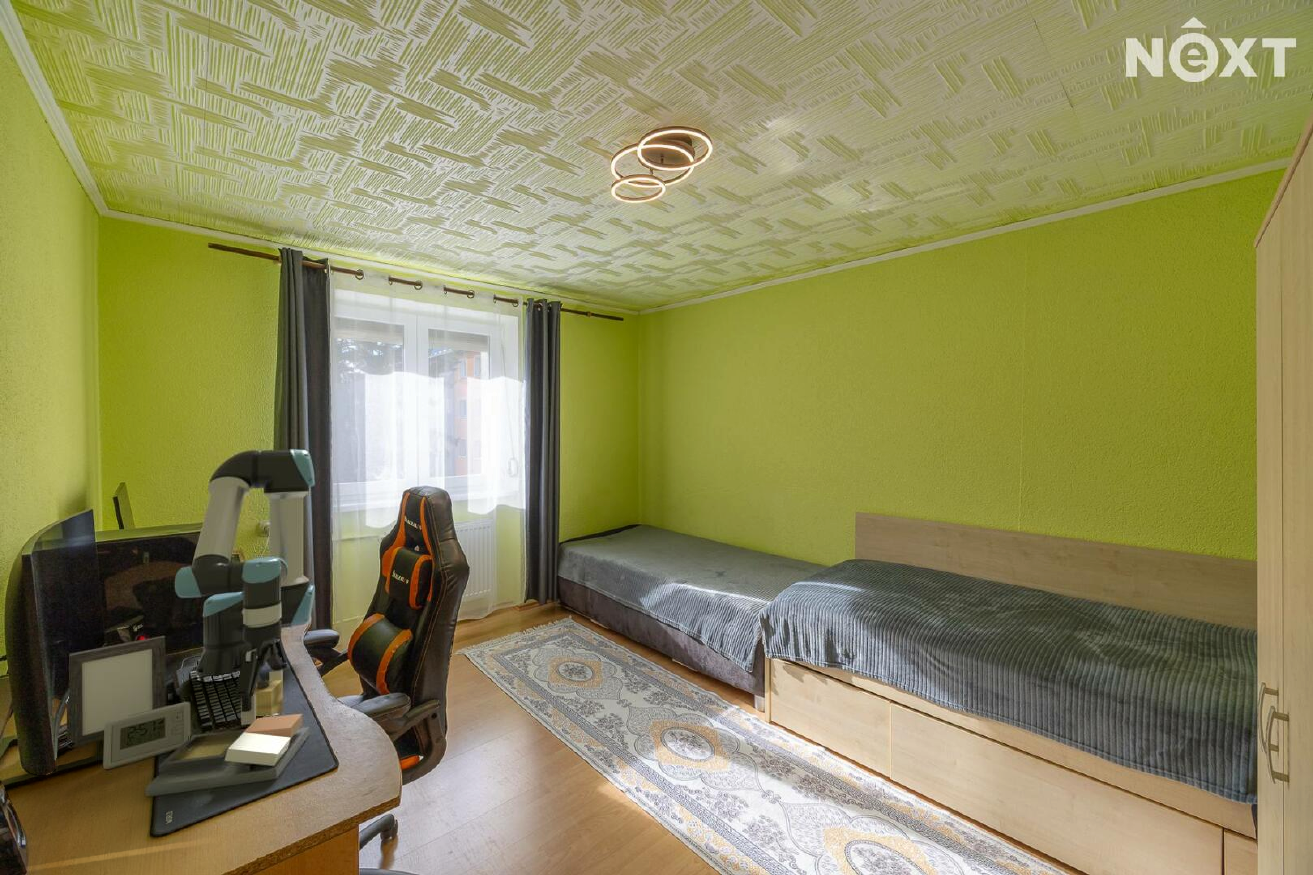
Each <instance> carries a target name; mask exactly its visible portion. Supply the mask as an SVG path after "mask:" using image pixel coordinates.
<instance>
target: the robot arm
mask: <svg viewBox="0 0 1313 875" xmlns="http://www.w3.org/2000/svg"><path fill="white" fill-rule="evenodd" d="M315 485H316V481H315V471H314V465H313V460H312V456H311V454H310V453H309V452H308V451H307V450H305V449H293V448H290V449H261V450H258V449H251V450H249V449H248V450H245V451H242V452H238V453H235V454H234V455H233V456H231V457H229V458H227V459H226V460H225V461H223V462H222V463H221V464H220V465H219V466H218V467H217V468H216V469H215V470H214V472H213V474H212V475H211V477H210V479H209V483H208V487H207V491H208V493H209V500H208V503H207V508H206V511H205V514H204V518H203V521H202V526H201V530H200V533H199V537H198V540H197V545H196V548H195V551H194V556H193V560H192V564H191V565H189V566H186V567H185V566H183V567H181V568H179V569H178V571H177V572H176V575H175V580H174V589H175V590H174V592H175V594H176V596H178V597H179V598H181V599H184V598H185V599H186V598H189V599H190V598H202V597H208V596H209V597H208V598H207V599H206V600H205V601H204V603H203V610H202V612H203V613H202V619H203V620H202V621H203V622H202V624H203V625H202V626H203V630H202V632H203V651H202V654H201V657H200V659H199V661H198V664H197V667H196V670H195V675H196V674H197V675H199V676H219V675H224V674H230V673H232V672H237V671H239V670H240V675H239V677H238V678H237V679H238V680H237V684H236V690H235V694H234V699H236V700H237V699H240V722H241V723H240V725H241V726H243V725H246V724H252V723H253V722H254V721H255V720H256V694H254V691H255V688H256V685H257V682H259V677H260V675H261V671H262V668H264V667H265V666H266V663H267V664H268V666H269V667H270V669H271V670H270V671H269V679H268V680H269V681H277V680H283V679H284V676H283V675H284V674H283V672H284V670H285V669H287V668H288V663H287V662H288V658H287V655H286V652H285V647H284V645H283V641H282V629H286V628H289V629H291V628H294V627H298V626H304V625H306V624H307V623H309V621H310V619H311V616H312V610H313V606H314V600H315V593H316V592H315V589H316V587H315V585H313V584H310V578H308V577H307V576H305V575H304V498H305V497H306V496H307V495H308V494H309V493H310V488H312V487H314V486H315ZM252 489H263V496H265V497H266V498H268V500H269V538H268V539H269V547H268V548H269V551H268V552H269V553H268V555H269V556H265V557H258V558H251V559H249V560H245V561H238V562H237V561H236V562H231V560H232V556H233V552H234V546H235V541H236V538H237V531H238V527H239V523H240V518H241V514H242V509H243V504H244V499H245V498H246V497H247V496H248V495H249V494H250V491H251V490H252ZM283 681H284V680H283Z"/></svg>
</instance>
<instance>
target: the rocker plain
mask: <svg viewBox="0 0 1313 875" xmlns="http://www.w3.org/2000/svg"><path fill="white" fill-rule="evenodd" d="M290 739H291V738H289V737H280V736H271V735H263V734H254V733H245V732H244V733H243V734H242V735H241V736H240V737H239V738H238V739H237V740H236V741H235V742H234V743H233V744H232V745H231V746H230V747H229V748H228V750H227V754H226V757H225V761H232V762H242V763H252V764H262V765H271V766H275V764H276V763H277V762H278V760H279V759H280V758H281V757H282V755H283V754H284V753H285V752H286V750H287V749H288V746H289V742H290Z"/></svg>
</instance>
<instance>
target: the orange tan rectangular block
mask: <svg viewBox="0 0 1313 875" xmlns="http://www.w3.org/2000/svg"><path fill="white" fill-rule="evenodd" d="M303 715H304V714H303V713H298V714H297V713H296V714H294V713H293V714H287V715H278V716H273V717H263V718H257V719H256V720H255V721H254V722H253V723H252V724H251V725H250V726H247V728H245V729H246V730H245V731H244V732H245V733H254V734H263V735H271V736H280V737H289V738H292V737H293V735H294V734H295V733H296V732H297V730H298V729H299V728H302V726H303ZM244 732H243V733H244Z"/></svg>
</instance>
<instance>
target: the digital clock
mask: <svg viewBox="0 0 1313 875" xmlns="http://www.w3.org/2000/svg"><path fill="white" fill-rule="evenodd" d="M191 729H192V728H191V703H190V702H189V701H184V702H181V703H180V702H179V703H176V704H171V705H166V706H165V707H161V708H157V709H153V710H149V711H145V712H141V713H137V714H133V715H129V716H127V717H123V718H119V719H115V720H112V721H109V722H107V723H106V724H105V729H104V740H103V756H102V757H103V759H102V761H103V762H102V763H103V764H102V765H103V769H104V770H111V769H114V768H117V767H121V766H125V765H129V764H132V763H135V762H138V761H142V760H146V759H149V758H152V757H156V756H159V755H162V754H166V753H170V752H172V751H176V750H177V749H178V748H179V747H180V746H181V745H183V744H184V743H185V742H186V741H187V740H188V736H190V735H191Z"/></svg>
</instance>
